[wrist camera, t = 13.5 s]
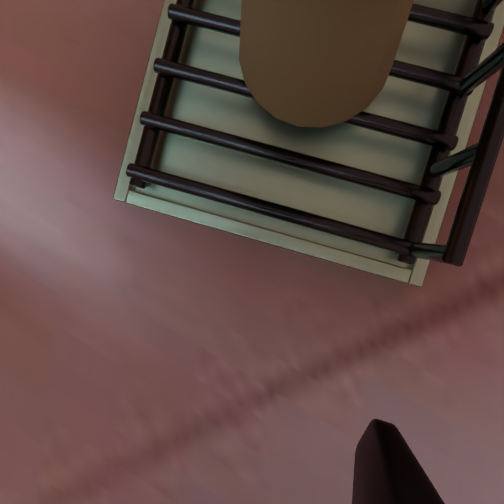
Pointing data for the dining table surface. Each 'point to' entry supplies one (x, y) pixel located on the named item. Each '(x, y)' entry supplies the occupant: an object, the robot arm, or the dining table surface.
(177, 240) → the dining table surface
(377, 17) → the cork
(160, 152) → the dish rack
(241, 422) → the dining table surface
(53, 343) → the dining table surface
